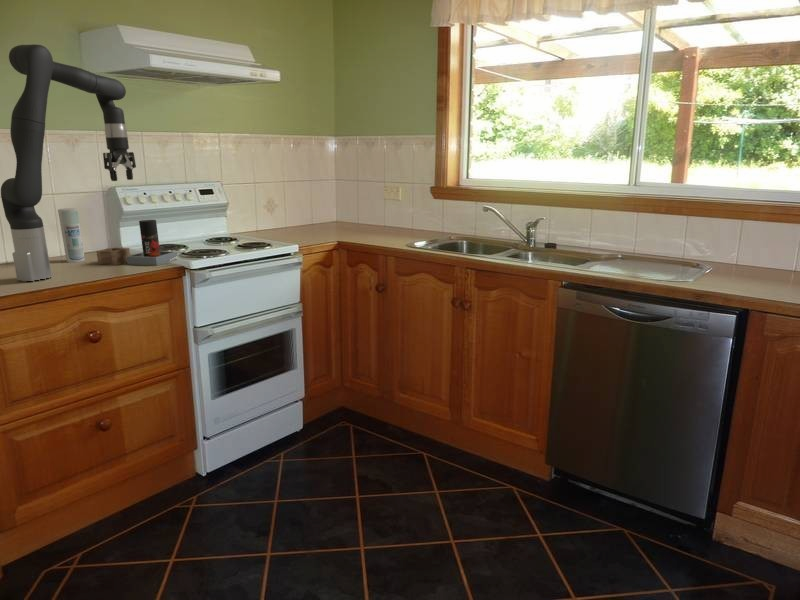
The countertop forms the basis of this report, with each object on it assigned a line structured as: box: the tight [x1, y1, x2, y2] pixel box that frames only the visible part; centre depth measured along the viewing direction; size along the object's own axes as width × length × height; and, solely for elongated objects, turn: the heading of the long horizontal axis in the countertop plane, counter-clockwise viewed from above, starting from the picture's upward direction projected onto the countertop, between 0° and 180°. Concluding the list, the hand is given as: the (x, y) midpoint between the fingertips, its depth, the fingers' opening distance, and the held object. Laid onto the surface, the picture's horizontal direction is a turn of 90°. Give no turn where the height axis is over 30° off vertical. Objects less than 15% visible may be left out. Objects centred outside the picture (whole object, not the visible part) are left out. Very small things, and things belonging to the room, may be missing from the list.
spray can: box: [57, 207, 86, 263], centre depth 226 cm, size 6×6×20 cm
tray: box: [126, 250, 178, 267], centre depth 224 cm, size 13×13×3 cm
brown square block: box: [96, 246, 131, 266], centre depth 223 cm, size 8×8×5 cm
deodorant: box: [138, 219, 161, 257], centre depth 222 cm, size 6×6×15 cm
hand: (122, 180), depth 225 cm, fingers open, 8 cm apart
